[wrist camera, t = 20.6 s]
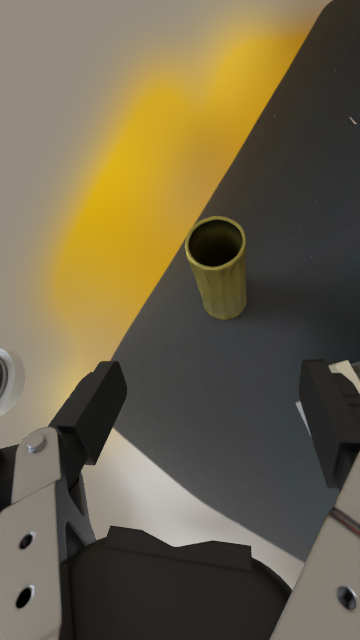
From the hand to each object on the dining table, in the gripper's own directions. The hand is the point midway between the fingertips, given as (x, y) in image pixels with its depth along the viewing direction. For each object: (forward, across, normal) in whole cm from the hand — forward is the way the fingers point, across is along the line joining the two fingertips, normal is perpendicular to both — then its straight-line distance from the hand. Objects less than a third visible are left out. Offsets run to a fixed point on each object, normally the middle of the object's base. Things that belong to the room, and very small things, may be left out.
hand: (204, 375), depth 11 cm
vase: (+24, 0, +8) cm, 25 cm away
